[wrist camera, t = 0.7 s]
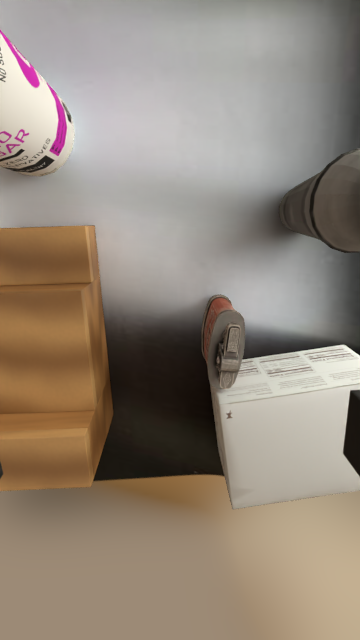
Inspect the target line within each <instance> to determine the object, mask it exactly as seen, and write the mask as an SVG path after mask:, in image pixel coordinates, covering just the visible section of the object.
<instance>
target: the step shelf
mask: <svg viewBox="0 0 360 640" xmlns="http://www.w3.org/2000/svg"><path fill="white" fill-rule="evenodd" d="M112 417H113V405H112V395H111V385H110V375H109V365H108V355H107V344H106V334H105V324H104V314H103V304H102V294H101V284H100V274H99V264H98V254H97V244H96V234H95V226H58V227H26V228H0V462H1V466H2V470H3V475H2V477H1V478H0V491H12V490H36V489H59V488H79V487H80V488H82V487H91V485H92V483H93V479H94V476H95V473H96V470H97V466H98V463H99V460H100V457H101V453H102V450H103V447H104V443H105V440H106V437H107V434H108V430H109V427H110V424H111V420H112Z"/></svg>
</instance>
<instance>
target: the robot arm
mask: <svg viewBox="0 0 360 640" xmlns="http://www.w3.org/2000/svg"><path fill="white" fill-rule="evenodd" d="M343 454H344V456H345V457H346V459H347V460H348V461H349V463H350V464H351V466H352V467H353V468H354V470H355V471H356V472H357V474H358V475H359V477H360V390H350V396H349V405H348V413H347V422H346V430H345V439H344V447H343ZM2 475H3V470H2V466H1V462H0V478H1V477H2Z"/></svg>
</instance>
